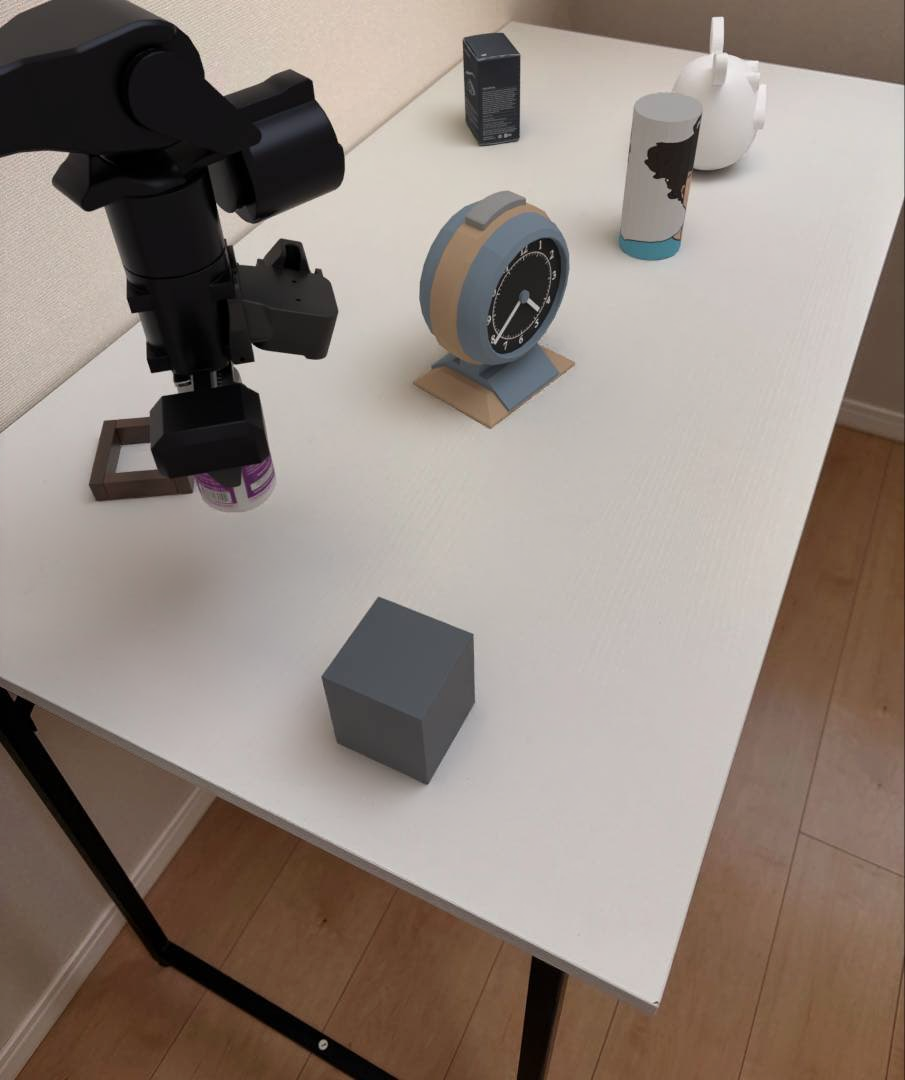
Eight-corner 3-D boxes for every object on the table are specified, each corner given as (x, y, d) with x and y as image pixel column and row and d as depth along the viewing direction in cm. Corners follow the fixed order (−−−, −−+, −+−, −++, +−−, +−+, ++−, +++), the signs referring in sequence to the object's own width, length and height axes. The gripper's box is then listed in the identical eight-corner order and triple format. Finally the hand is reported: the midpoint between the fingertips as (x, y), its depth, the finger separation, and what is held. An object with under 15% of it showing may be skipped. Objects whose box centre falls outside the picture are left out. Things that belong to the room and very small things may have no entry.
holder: (95, 501, 80) (88, 484, 78) (110, 436, 85) (103, 420, 84) (192, 492, 80) (187, 476, 78) (201, 429, 85) (196, 412, 84)
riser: (336, 742, 63) (320, 676, 57) (388, 665, 67) (378, 595, 62) (427, 785, 61) (421, 720, 55) (475, 702, 65) (474, 633, 59)
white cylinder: (688, 256, 102) (712, 118, 91) (628, 263, 102) (645, 125, 90) (669, 224, 107) (690, 89, 95) (611, 231, 106) (625, 95, 95)
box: (520, 141, 121) (522, 53, 113) (478, 147, 121) (477, 59, 113) (504, 115, 127) (505, 29, 119) (463, 120, 126) (461, 34, 118)
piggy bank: (770, 182, 112) (801, 49, 101) (676, 192, 111) (696, 59, 100) (734, 136, 121) (759, 9, 110) (645, 145, 120) (661, 17, 109)
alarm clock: (483, 434, 84) (482, 257, 71) (405, 388, 88) (391, 214, 75) (581, 359, 91) (597, 185, 77) (504, 320, 95) (507, 150, 82)
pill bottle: (262, 453, 68) (236, 344, 61) (288, 499, 65) (263, 389, 58) (190, 478, 67) (155, 369, 60) (213, 526, 64) (178, 417, 56)
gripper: (342, 323, 47) (370, 534, 59) (297, 156, 59) (328, 358, 71) (115, 359, 46) (190, 567, 57) (117, 180, 58) (178, 382, 69)
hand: (229, 457), depth 64 cm, fingers closed on pill bottle, 5 cm apart
